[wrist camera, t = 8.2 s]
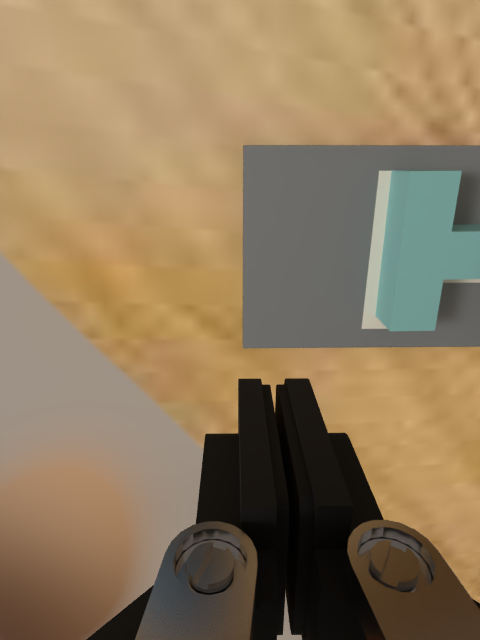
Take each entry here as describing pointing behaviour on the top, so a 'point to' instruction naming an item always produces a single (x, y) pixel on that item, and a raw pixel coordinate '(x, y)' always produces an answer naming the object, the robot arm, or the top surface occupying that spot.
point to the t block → (423, 248)
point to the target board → (340, 245)
